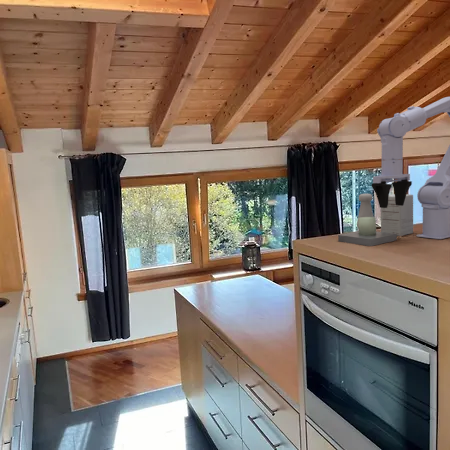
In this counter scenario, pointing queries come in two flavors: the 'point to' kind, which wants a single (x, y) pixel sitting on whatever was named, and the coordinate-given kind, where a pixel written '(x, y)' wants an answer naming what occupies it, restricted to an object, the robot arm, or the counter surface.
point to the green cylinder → (367, 226)
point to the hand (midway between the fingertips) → (391, 206)
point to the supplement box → (397, 216)
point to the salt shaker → (365, 206)
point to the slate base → (367, 238)
